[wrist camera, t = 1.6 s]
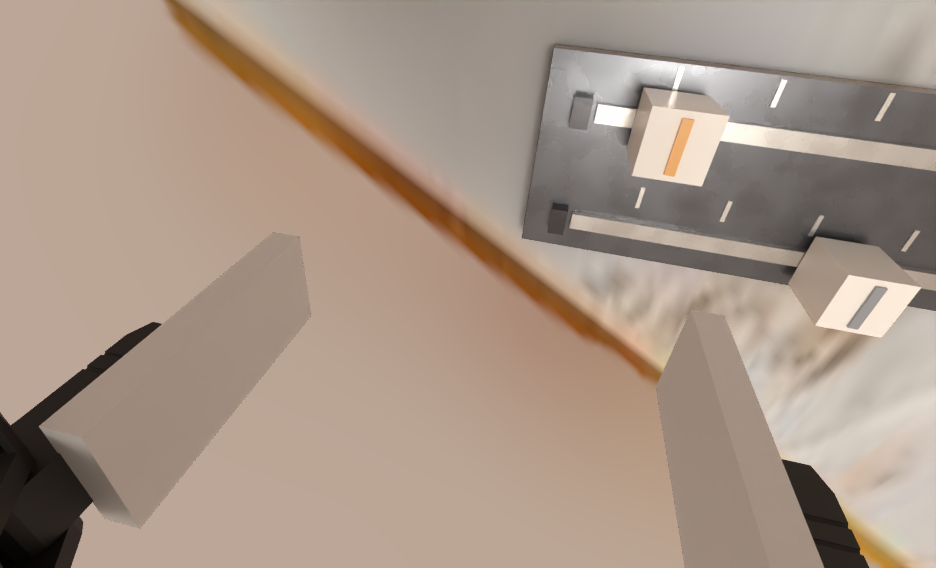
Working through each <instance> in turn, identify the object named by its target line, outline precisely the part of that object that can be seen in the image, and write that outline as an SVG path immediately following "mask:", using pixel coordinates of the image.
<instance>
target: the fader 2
mask: <svg viewBox="0 0 936 568" xmlns="http://www.w3.org/2000/svg"><path fill="white" fill-rule="evenodd" d="M788 284H789V286H790V287H791V289H792V290H793V292H794V294H795V295H796V297H797V298H798V300H799V301H800V303H801V304H802V306H803V308H804V309H805V311H806V312H807V314H808V315H809V317H810V319H811V320H812V322H813V323H814V325H815V326H821V327H826V328H832V329H837V330H842V331H848V332H853V333H859V334H864V335H869V336H875V337H880V338H882V336H883V335H884V334H885V333H886V331H887V330H888V329H889V328H890V326H891V325H892V324H893V323H894V321H895V320H896V319H897V318H898V316H899V315H900V314H901V313H902V311H903V310H904V309H905V308H906V306H907V305H908V304H909V303H910V301H911V300H912V299H913V298H914V296H915V295H916V294H917V293H918V291H919V290H920V289H921V288H922V287H921V286H920V285H919V284H918V283H917V282H915V281H914V280H913V279H912V278H911V277H910V276H909V275H908V274H907V273H906V272H905V271H904V270H903V269H902V268H901V267H900V266H899V265H898V264H896V263H895V262H894V261H893V260H892V259H891V258H890V257H889V256H888V255H887V254H886V253H885V252H884V251H883V250H882V249H881V248H880V247H878V246H872V245H866V244H859V243H853V242H847V241H841V240H835V239H829V238H822V237H815V239H814V240H813V242H812V244H811V246H810V247H809V249H808V251H807V252H806V254H805V256H804V257H803V259H802V261H801V262H800V264H799V266H798V268H797V269H796V271H795V273H794V274H793V276H792V278H791V279H790V281H789V283H788Z"/></svg>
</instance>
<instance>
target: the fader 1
mask: <svg viewBox="0 0 936 568" xmlns="http://www.w3.org/2000/svg"><path fill="white" fill-rule="evenodd" d="M729 117H730V116H729V115H728V114H727V113H726V112H725V111H724V110H723V109H722V108H721V107H720V106H719V105H718V104H717V103H716V102H715V101H714V100H713V99H712V98H711V97H710V96H708V95H700V94H692V93H684V92H677V91H669V90H661V89H654V88H646V87H644V88H643V92H642V95H641V99H640V102H639V106H638V109H637V113H636V116H635V120H634V123H633V127H632V130H631V134H630V138H629V141H628V145H627V148H626V151H627V156H628V161H629V165H630V170H631V175H632V176H636V177H643V178H649V179H656V180H662V181H669V182H675V183H682V184H688V185H695V186H701V187H702V185H703V182H704V180H705V177H706V175H707V172H708V170H709V167H710V165H711V162H712V160H713V157H714V155H715V152H716V150H717V147H718V145H719V142H720V139H721V137H722V134H723V132H724V129H725V127H726V124H727V122H728V119H729Z"/></svg>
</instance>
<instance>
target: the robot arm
mask: <svg viewBox="0 0 936 568" xmlns="http://www.w3.org/2000/svg"><path fill="white" fill-rule="evenodd" d="M310 317H311V311H310V304H309V297H308V291H307V284H306V278H305V271H304V265H303V257H302V251H301V244H300V237H297V236H292V235H287V234H281V233H276V232H273V233H272V234H270V235H269V236H268V237H267V238H266V239H264V240H263V241H262V242H261V243H260V244H258V245H257V246H256V247H255V248H254V249H252V250H251V251H250V252H249V253H247V254H246V255H245V256H244V257H243V258H242V259H240V260H239V261H238V262H237V263H236V264H234V265H233V266H232V267H231V268H229V269H228V270H227V271H226V272H225V273H223V274H222V275H221V276H220V277H219V278H217V279H216V280H215V281H214V282H212V283H211V284H210V285H209V286H208V287H206V288H205V289H204V290H203V291H202V292H200V293H199V294H198V295H197V296H196V297H194V298H193V299H192V300H191V301H189V302H188V303H187V304H186V305H185V306H184V307H182V308H181V309H180V310H179V311H177V312H176V313H175V314H174V315H173V316H171V317H170V318H169V319H168V320H167V321H165V322H164V323H163V324H160V323H155V322H152V323H150V324H148V325H146V326H144V327H142V328H139V329H138V330H135V331H133V332H131V333H129V334H127V335H126V336H124V337H123V338H122V339H121V340H119V341H118V342H117V343H116V344H114V345H113V346H112V347H110V348H109V349H108V350H106V351H105V354H104V355H100V356H99V357H98V358H96V359H95V360H94V361H93V362H91V363H90V364H89V365H88V366H87V369H85V370H84V369H82V370H81V371H80V372H78V373H77V374H76V375H75V376H73V377H72V378H71V379H70V380H68V381H67V382H66V383H65V384H63V385H62V386H61V387H59V388H58V389H57V390H56V391H55V392H53V393H52V394H51V395H49V396H48V397H47V398H45V399H44V400H43V401H42V402H40V403H39V404H38V405H37V406H35V407H34V408H33V409H32V410H30V411H29V412H28V413H26V414H25V415H24V416H23V417H21V418H20V419H19V420H17V421H16V422H15V423H13V424H12V425H9V423H8V422H7V421H6V419H5V418H4V417H3V416H2V414H1V413H0V568H71V565H72V562H73V559H74V556H75V553H76V550H77V547H78V544H79V541H80V538H81V535H82V528H83V521H82V519H81V518H80V517H79V516H80V515H81V514H82V512H83V511H84V510H85V509H86V508H87V507H88V506H89V505H90V504H91V503H92V502H93V503H94V505H95V506H96V507H97V509H98V510H99V511H100V513H101V514H102V516H103V517H104V518H105V519H108V520H111V521H115V522H118V523H122V524H125V525H129V526H132V527H136V528H139V529H140V528H141V527H142V526H143V524H144V523H145V522H146V521H147V519H148V518H149V517H150V516H151V515H152V513H153V512H154V511H155V509H156V508H157V507H158V506H159V505H160V503H161V502H162V501H163V500H164V498H165V497H166V496H167V495H168V493H169V492H170V491H171V490H172V488H173V487H174V486H175V485H176V483H177V482H178V481H179V479H180V478H181V477H182V476H183V475H184V474H185V472H186V471H187V470H188V469H189V467H190V466H191V465H192V464H193V462H194V461H195V460H196V458H197V457H198V456H199V455H200V454H201V452H202V451H203V450H204V448H205V447H206V446H207V445H208V444H209V442H210V441H211V439H213V437H214V436H215V435H216V433H217V432H218V431H219V430H220V429H221V427H222V426H223V425H224V424H225V422H226V421H227V420H228V419H229V417H230V416H231V415H232V413H233V412H234V411H235V410H236V409H237V408H238V406H239V405H240V404H241V403H242V401H243V400H244V399H245V398H246V396H247V395H248V394H249V393H250V391H251V390H252V389H253V388H254V386H255V385H256V384H257V383H258V381H259V380H260V379H261V378H262V376H263V375H264V374H265V373H266V371H267V370H268V369H269V368H270V367H271V365H272V364H273V363H274V362H275V360H276V359H277V358H278V357H279V355H280V354H281V353H282V352H283V350H284V349H285V348H286V347H287V345H288V344H289V343H290V342H291V340H292V339H293V338H294V337H295V335H296V334H297V333H298V332H299V330H300V329H301V328H302V327H303V325H304V324H305V323H306V322H307V320H308V319H309V318H310ZM656 393H657V399H658V405H659V411H660V417H661V423H662V430H663V435H664V442H665V447H666V454H667V460H668V466H669V472H670V478H671V485H672V491H673V497H674V503H675V509H676V516H677V522H678V528H679V534H680V540H681V546H682V553H683V559H684V565H685V568H869V566H868V564H867V562H866V560H865V558H864V556H863V555H861V554H860V547H859V545H858V543H857V541H856V539H855V536H854V534H853V532H852V530H850V529H848V522H847V519H846V517H845V515H844V513H843V511H842V509H841V507H840V505H839V502H838V500H837V498H836V496H835V494H834V493H833V492H832V490H831V489H830V488H829V487H828V486H827V484H826V483H825V482H824V481H823V480H822V479H821V477H820V476H819V475H818V474H817V473H816V472H815V470H814V469H813V468H812V467H811V466H810V465H805V464H801V463H796V462H792V461H787V460H783V459H781V457H780V455H779V452H778V450H777V447H776V445H775V442H774V440H773V437H772V434H771V432H770V429H769V427H768V424H767V422H766V419H765V417H764V414H763V412H762V409H761V407H760V404H759V402H758V399H757V397H756V394H755V392H754V389H753V387H752V384H751V381H750V379H749V376H748V374H747V371H746V369H745V366H744V364H743V361H742V359H741V356H740V354H739V351H738V349H737V346H736V344H735V341H734V339H733V336H732V334H731V331H730V328H729V326H728V323H727V321H726V318H725V316H723V315H718V314H713V313H707V312H702V311H697V310H691V311H690V314H689V316H688V318H687V320H686V322H685V325H684V327H683V329H682V331H681V333H680V335H679V338H678V340H677V342H676V344H675V346H674V349H673V351H672V353H671V355H670V357H669V360H668V362H667V364H666V366H665V368H664V371H663V373H662V375H661V377H660V379H659V381H658V384H657V386H656Z"/></svg>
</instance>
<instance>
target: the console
mask: <svg viewBox="0 0 936 568" xmlns="http://www.w3.org/2000/svg"><path fill="white" fill-rule="evenodd" d="M644 87H646V88H654V89H661V90H669V91H677V92H684V93H692V94H700V95H708V96H710V97H711V98H712V99H713V100H714V101H715V102H716V103H717V104H718V105H719V106H720V107H721V108H722V109H723V110H724V111H725V112H726V113H727V114H728V115H729V116H730V117H729V119H728V122H727V124H726V127H725V129H724V132H723V134H722V137H721V139H720V142H719V145H718V147H717V150H716V152H715V155H714V157H713V160H712V162H711V165H710V167H709V170H708V172H707V175H706V177H705V180H704V182H703V185H702V187H701V186H695V185H688V184H682V183H675V182H669V181H662V180H656V179H649V178H643V177H636V176H632V175H631V170H630V165H629V161H628V156H627V151H626V148H627V145H628V141H629V138H630V134H631V130H632V127H633V123H634V120H635V116H636V113H637V109H638V106H639V102H640V99H641V95H642V92H643V88H644ZM815 237H822V238H829V239H835V240H841V241H847V242H853V243H859V244H866V245H872V246H878V247H880V248H881V249H882V250H883V251H884V252H885V253H886V254H887V255H888V256H889V257H890V258H891V259H892V260H893V261H894V262H895V263H896V264H898V265H899V266H900V267H901V268H902V269H903V270H904V271H905V272H906V273H907V274H908V275H909V276H910V277H911V278H912V279H913V280H914V281H915V282H917V283H918V284H919V285H920V286H921V287H922V288H921V289H920V290H919V291H918V293H917V294H916V295H915V296H914V298H913V299H912V300H911V301H910V303H909V304H908V305H907V306H910V307H916V308H922V309H927V310H933V311H936V90H934V89H926V88H918V87H909V86H901V85H893V84H885V83H876V82H868V81H860V80H851V79H843V78H835V77H826V76H818V75H810V74H802V73H793V72H785V71H777V70H768V69H760V68H752V67H743V66H735V65H727V64H719V63H710V62H702V61H694V60H685V59H677V58H669V57H660V56H652V55H644V54H636V53H627V52H619V51H611V50H602V49H594V48H586V47H577V46H569V45H561V44H556V45H555V47H554V51H553V57H552V63H551V69H550V75H549V81H548V87H547V92H546V98H545V104H544V110H543V116H542V122H541V128H540V134H539V140H538V145H537V151H536V157H535V163H534V169H533V175H532V181H531V187H530V193H529V198H528V204H527V210H526V216H525V222H524V228H523V234H522V238H524V239H530V240H535V241H541V242H547V243H552V244H558V245H564V246H569V247H575V248H581V249H587V250H592V251H598V252H604V253H609V254H615V255H621V256H626V257H632V258H638V259H643V260H649V261H655V262H660V263H666V264H672V265H677V266H683V267H689V268H694V269H700V270H706V271H712V272H717V273H723V274H729V275H734V276H740V277H746V278H751V279H757V280H763V281H768V282H774V283H780V284H785V285H789V284H788V283H789V281H790V279H791V278H792V276H793V274H794V273H795V271H796V269H797V268H798V266H799V264H800V262H801V261H802V259H803V257H804V256H805V254H806V252H807V251H808V249H809V247H810V246H811V244H812V242H813V240H814V239H815Z"/></svg>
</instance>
